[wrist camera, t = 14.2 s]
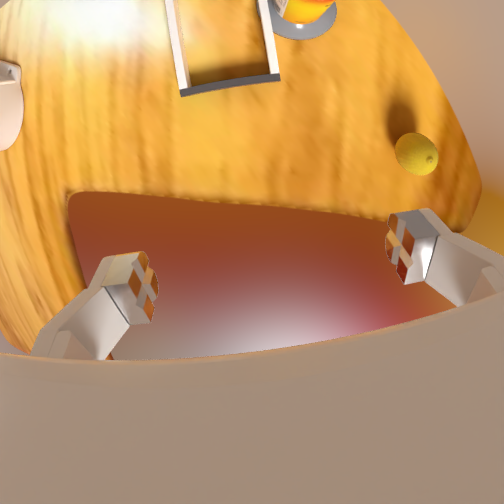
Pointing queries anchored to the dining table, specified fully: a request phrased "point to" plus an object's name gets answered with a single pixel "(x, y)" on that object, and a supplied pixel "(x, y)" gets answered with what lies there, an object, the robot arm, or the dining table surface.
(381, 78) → the dining table surface
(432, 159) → the lemon
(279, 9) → the beer can
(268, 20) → the channel
